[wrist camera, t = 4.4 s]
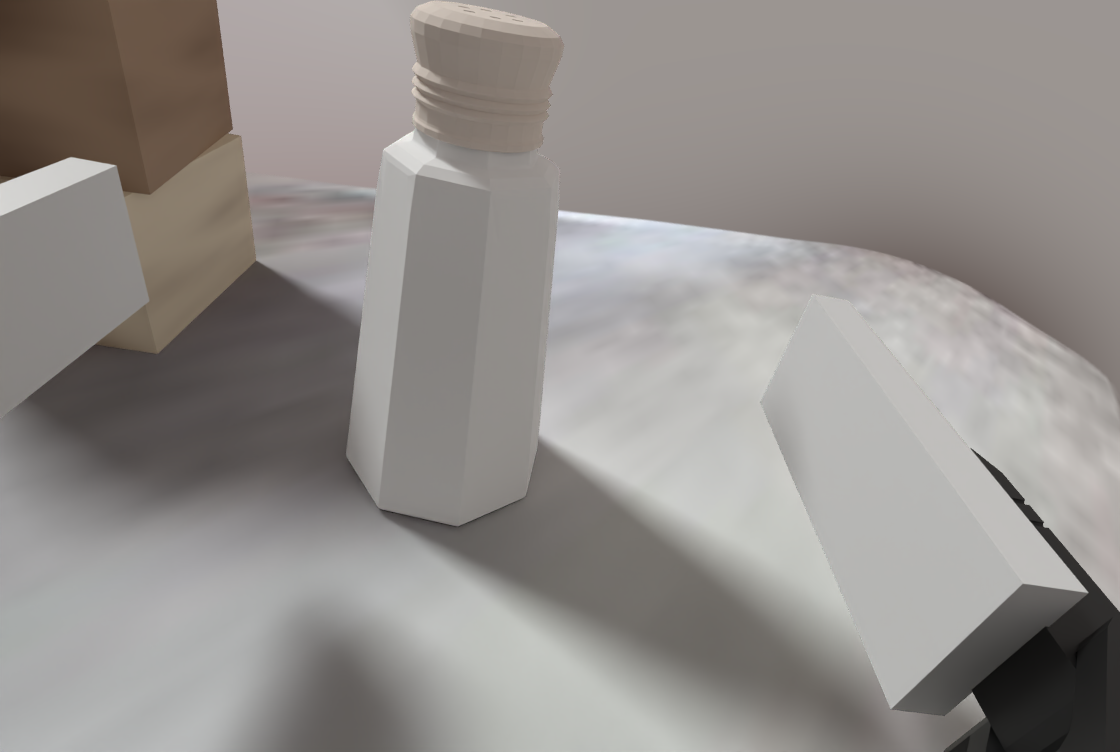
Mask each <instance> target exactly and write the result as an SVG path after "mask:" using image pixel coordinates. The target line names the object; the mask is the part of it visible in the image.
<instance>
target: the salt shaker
mask: <svg viewBox="0 0 1120 752" xmlns="http://www.w3.org/2000/svg"><path fill="white" fill-rule="evenodd" d="M410 29H411V34H412V38H413V44H414V48H415V53H416V58H417V62H416V63H415V65H414V66H413V68H412V70H413V72H414V73H415V74H416V75H415V77H413V79H412V82H413V84H414V85H415V87H414V88H413V89H412V92H411V93H412V94H413V95H414V96H415V98H416V110H415V112H414V113H413V117H412V123H413V125H414V126H415V128H414V131H412V132H410V133H409V134H407V135H405V136H404V137H402V138H401V139H399V140H398V141H396V142H394V143H393V144H391V145H390V146H388V147H386V148H385V149H383V154H382V160H381V165H380V171H379V177H378V183H377V190H376V198H375V207H374V216H373V224H372V233H371V242H370V250H369V259H368V268H367V276H366V285H365V294H364V302H363V311H362V320H361V328H360V337H359V346H358V354H357V363H356V372H355V380H354V389H353V398H352V406H351V415H350V424H349V432H348V441H347V450H346V457H347V458H348V460H349V462H350V463H351V465H352V466H353V468H354V470H355V471H356V473H357V474H358V476H359V478H360V479H361V481H362V482H363V484H364V486H365V487H366V489H367V490H368V492H369V494H370V495H371V497H372V499H373V500H374V502H375V503H376V505H377V507H378V508H380V509H382V510H386V511H391V512H395V513H399V514H404V515H408V516H413V517H417V518H422V519H426V520H430V521H435V522H439V523H444V524H448V525H453V526H457V527H458V526H460V525H463V524H465V523H467V522H469V521H472V520H474V519H476V518H479V517H481V516H483V515H485V514H488V513H490V512H492V511H495V510H497V509H499V508H501V507H504V506H506V505H508V504H510V503H513V502H515V501H517V500H520V499H522V498H524V497H526V494H527V489H528V485H529V481H530V477H531V473H532V468H533V464H534V460H535V456H536V452H537V447H538V437H539V426H540V414H541V403H542V391H543V380H544V368H545V357H546V345H547V334H548V322H549V311H550V299H551V288H552V276H553V265H554V253H555V242H556V230H557V219H558V207H559V184H560V168H559V167H558V166H556V164H555V163H554V162H553V161H551V160H550V159H548V158H546V157H544V156H542V155H541V154H539V153H538V148H540V147H541V145H542V144H543V136H542V128H543V122H544V121H545V120H546V119H547V118H548V116H549V115H548V113H547V111H546V110H547V109H548V108H549V107H550V106H551V105H550V103H549V101H548V99H549V98H550V97H551V96H552V95H553V94H552V92H551V90H550V87H549V85H550V83H551V81H552V78H553V76H554V74H555V72H556V69H557V67H558V65H559V62H560V60H561V57H562V53H563V49H564V44H563V42H562V39H561V37H560V36H559V35H558V34H557V33H556V32H555V31H554V30H552V29H551V28H550V27H549V26H548V25H546V24H544V23H542V22H539V21H536V20H533V19H530V18H526V17H523V16H519V15H515V14H511V13H507V12H503V11H498V10H494V9H489V8H484V7H478V6H473V5H468V4H461V3H455V2H446V1H431V2H428V3H425V4H422V5H419V6H417V7H416V8H415V10H414V11H413V12H412V13H411V15H410Z"/></svg>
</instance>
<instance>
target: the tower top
mask: <svg viewBox="0 0 1120 752" xmlns="http://www.w3.org/2000/svg"><path fill="white" fill-rule="evenodd" d="M232 129H233V127H232V119H231V112H230V105H229V96H228V88H227V80H226V72H225V65H224V57H223V48H222V41H221V33H220V25H219V17H218V9H217V1H216V0H0V176H5V177H13V178H17V177H20V176H23V175H25V174H28V173H30V172H33V171H36V170H38V169H41V168H44V167H46V166H49V165H51V164H54V163H57V162H59V161H62V160H65V159H67V158H70V157H73V158H79V159H84V160H89V161H95V162H100V163H106V164H111V165H116V166H117V170H118V174H119V178H120V182H121V186H122V190H123V191H125V192H133V193H139V194H147V195H151V194H152V193H153V192H154V191H156V190H157V189H158V188H159V187H161V186H162V185H163V184H164V183H166V182H167V181H168V180H170V179H171V178H172V177H173V176H175V175H176V174H177V173H178V172H180V171H181V170H182V169H183V168H185V167H186V166H187V165H188V164H190V163H191V162H192V161H193V160H194V159H196V158H197V157H198V156H199V155H201V154H202V153H203V152H204V151H206V150H207V149H208V148H209V147H211V146H212V145H213V144H214V143H216V142H217V141H218V140H219V139H221V138H222V137H223V136H224V135H226V134H227V133H228V132H230V131H231V130H232Z"/></svg>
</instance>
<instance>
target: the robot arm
mask: <svg viewBox="0 0 1120 752" xmlns="http://www.w3.org/2000/svg"><path fill="white" fill-rule="evenodd" d="M148 302H149V297H148V293H147V288H146V284H145V280H144V276H143V272H142V268H141V264H140V260H139V256H138V252H137V248H136V243H135V239H134V235H133V231H132V227H131V223H130V219H129V215H128V211H127V207H126V203H125V198H124V194H123V190H122V186H121V182H120V178H119V174H118V170H117V166H116V165H111V164H106V163H100V162H95V161H89V160H84V159H79V158H73V157H70V158H67V159H65V160H62V161H59V162H57V163H54V164H51V165H49V166H46V167H44V168H41V169H38V170H36V171H33V172H30V173H28V174H25V175H23V176H20V177H17V178H15V179H12V180H9V181H7V182H4V183H1V184H0V419H1V418H2V417H3V416H5V415H6V414H7V413H8V412H10V411H11V410H12V409H13V408H15V407H16V406H17V405H18V404H20V403H21V402H22V401H24V400H25V399H26V398H27V397H29V396H30V395H31V394H32V393H34V392H35V391H36V390H37V389H39V388H40V387H41V386H43V385H44V384H45V383H46V382H48V381H49V380H50V379H51V378H53V377H54V376H55V375H57V374H58V373H59V372H60V371H62V370H63V369H64V368H65V367H67V366H68V365H69V364H70V363H72V362H73V361H74V360H76V359H77V358H78V357H79V356H81V355H82V354H83V353H84V352H86V351H87V350H88V349H89V348H91V347H92V346H93V345H95V344H96V343H97V342H98V341H100V340H101V339H102V338H103V337H105V336H106V335H107V334H108V333H110V332H111V331H112V330H114V329H115V328H116V327H117V326H119V325H120V324H121V323H122V322H124V321H125V320H126V319H127V318H129V317H130V316H131V315H133V314H134V313H135V312H136V311H138V310H139V309H140V308H141V307H143V306H144V305H145V304H147V303H148ZM760 403H761V405H762V408H763V410H764V413H765V415H766V417H767V420H768V422H769V424H770V427H771V429H772V431H773V434H774V436H775V438H776V441H777V443H778V445H779V448H780V450H781V452H782V455H783V457H784V460H785V462H786V464H787V467H788V469H789V471H790V474H791V476H792V478H793V481H794V483H795V485H796V488H797V490H798V492H799V495H800V497H801V499H802V502H803V504H804V507H805V509H806V511H807V514H808V516H809V518H810V521H811V523H812V525H813V528H814V530H815V532H816V535H817V537H818V539H819V542H820V544H821V547H822V549H823V551H824V554H825V556H826V558H827V561H828V563H829V565H830V568H831V570H832V572H833V575H834V577H835V579H836V582H837V584H838V586H839V589H840V591H841V594H842V596H843V598H844V601H845V603H846V605H847V608H848V610H849V612H850V615H851V617H852V619H853V622H854V624H855V626H856V629H857V631H858V633H859V636H860V638H861V641H862V643H863V645H864V648H865V650H866V652H867V655H868V657H869V659H870V662H871V664H872V666H873V669H874V671H875V673H876V676H877V678H878V681H879V683H880V685H881V688H882V690H883V692H884V695H885V697H886V699H887V702H888V704H889V706H890V709H892V710H900V711H908V712H917V713H925V714H934V715H942V716H945V715H946V714H947V713H948V712H950V711H951V710H952V709H953V708H954V707H955V706H957V705H958V704H959V703H960V702H961V701H962V700H964V699H965V698H966V697H967V696H968V695H969V694H971V693H972V692H973V694H974V695H975V697H976V699H977V701H978V703H979V705H980V706H981V708H982V710H983V712H984V714H985V716H986V718H985V719H983V720H982V721H981V722H979V723H978V724H977V725H976V726H974V727H973V728H972V729H971V730H969V731H968V732H967V733H966V734H964V735H963V736H962V737H961V738H959V739H958V740H957V741H955V742H954V743H953V744H952V745H950V746H949V747H948V748H947V749H945V750H944V752H1120V612H1119V611H1118V610H1117V608H1116V607H1115V606H1114V605H1113V604H1112V603H1111V601H1110V600H1109V599H1108V598H1107V597H1106V595H1105V594H1104V593H1103V592H1102V591H1101V589H1100V588H1099V587H1098V586H1097V585H1096V584H1095V582H1094V581H1093V580H1092V579H1091V578H1090V576H1089V575H1088V574H1087V573H1086V572H1085V571H1084V569H1083V568H1082V567H1081V566H1080V565H1079V563H1078V562H1077V561H1076V560H1075V559H1074V557H1073V556H1072V555H1071V554H1070V553H1069V552H1068V550H1067V549H1066V548H1065V547H1064V546H1063V544H1062V543H1061V542H1060V541H1059V540H1058V538H1057V537H1056V536H1055V535H1054V534H1053V533H1052V531H1051V530H1050V529H1049V528H1045V527H1043V523H1044V522H1043V521H1042V520H1041V518H1040V517H1039V516H1038V515H1037V514H1036V512H1035V511H1034V510H1033V509H1032V508H1031V506H1030V505H1025V504H1024V501H1025V499H1024V498H1023V497H1022V496H1021V495H1020V493H1019V492H1018V491H1017V490H1016V489H1015V488H1014V486H1013V485H1012V484H1011V483H1010V482H1009V480H1008V479H1007V478H1006V477H1005V476H1004V474H1003V473H1002V472H1000V471H999V470H998V469H997V468H995V467H994V466H993V465H992V464H990V463H989V462H988V461H986V460H985V459H984V458H983V457H981V456H980V455H979V454H978V453H976V452H975V451H974V450H973V449H971V448H969V446H968V445H967V444H966V443H965V442H964V440H963V439H962V438H961V437H960V435H959V434H958V433H957V432H956V431H955V429H954V428H953V427H952V426H951V424H950V423H949V422H948V421H947V420H946V418H945V417H944V416H943V415H942V413H941V412H940V411H939V410H938V409H937V407H936V406H935V405H934V404H933V402H932V401H931V400H930V399H929V398H928V396H927V395H926V394H925V393H924V392H923V390H922V389H921V388H920V387H919V385H918V384H917V383H916V382H915V381H914V379H913V378H912V377H911V376H910V374H909V373H908V372H907V371H906V370H905V368H904V367H903V366H902V365H901V363H900V362H899V361H898V360H897V359H896V357H895V356H894V355H893V354H892V352H891V351H890V350H889V349H888V348H887V346H886V345H885V344H884V343H883V341H882V340H881V339H880V338H879V337H878V335H877V334H876V333H875V332H874V331H873V329H872V328H871V327H870V326H869V324H868V323H867V322H866V321H865V320H864V318H863V317H862V316H861V315H860V313H859V312H858V311H857V310H856V309H855V307H854V306H853V305H852V304H851V302H850V301H848V300H843V299H838V298H832V297H827V296H821V295H816V294H812V296H811V298H810V300H809V302H808V305H807V307H806V309H805V311H804V313H803V315H802V317H801V319H800V321H799V323H798V325H797V327H796V329H795V331H794V333H793V335H792V337H791V340H790V342H789V344H788V346H787V348H786V350H785V352H784V354H783V356H782V358H781V360H780V362H779V364H778V366H777V368H776V370H775V373H774V375H773V377H772V379H771V381H770V383H769V385H768V387H767V389H766V391H765V393H764V395H763V397H762V399H761V401H760Z"/></svg>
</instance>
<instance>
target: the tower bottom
mask: <svg viewBox="0 0 1120 752" xmlns="http://www.w3.org/2000/svg"><path fill="white" fill-rule="evenodd" d="M12 179H15V178H13V177H5V176H0V184H1V183H4V182H7V181H9V180H12ZM123 194H124V198H125V203H126V207H127V211H128V215H129V219H130V223H131V227H132V231H133V235H134V239H135V243H136V248H137V252H138V256H139V260H140V264H141V268H142V272H143V276H144V280H145V284H146V288H147V293H148V297H149V302H148V303H147V304H145V305H144V306H143V307H141V308H140V309H139V310H138V311H136V312H135V313H134V314H133V315H131V316H130V317H129V318H127V319H126V320H125V321H124V322H122V323H121V324H120V325H119V326H117V327H116V328H115V329H114V330H112V331H111V332H110V333H108V334H107V335H106V336H105V337H103V338H102V339H101V340H100V341H98V342H97V343H96V344H95V345H102V346H108V347H115V348H121V349H128V350H135V351H141V352H148V353H154V354H158V353H159V352H160V351H161V350H162V349H163V348H165V347H166V346H167V345H168V344H169V343H170V342H171V341H172V340H173V339H174V338H175V337H176V336H177V335H178V334H179V333H180V332H181V331H182V330H184V329H185V328H186V327H187V326H188V325H189V324H190V323H191V322H192V321H193V320H194V319H195V318H196V317H197V316H198V315H199V314H200V313H201V312H203V311H204V310H205V309H206V308H207V307H208V306H209V305H210V304H211V303H212V302H213V301H214V300H215V299H216V298H217V297H218V296H219V295H220V294H222V293H223V292H224V291H225V290H226V289H227V288H228V287H229V286H230V285H231V284H232V283H233V282H234V281H235V280H236V279H237V278H238V277H239V276H241V275H242V274H243V273H244V272H245V271H246V270H247V269H248V268H249V267H250V266H251V265H252V264H253V263H254V262H255V261H256V254H255V246H254V238H253V230H252V221H251V213H250V205H249V197H248V189H247V180H246V172H245V165H244V156H243V148H242V140H241V136H239V135H233V134H228V133H227V134H226V135H224V136H223V137H222V138H221V139H219V140H218V141H217V142H216V143H214V144H213V145H212V146H211V147H209V148H208V149H207V150H206V151H204V152H203V153H202V154H201V155H199V156H198V157H197V158H196V159H194V160H193V161H192V162H191V163H190V164H188V165H187V166H186V167H185V168H183V169H182V170H181V171H180V172H178V173H177V174H176V175H175V176H173V177H172V178H171V179H170V180H168V181H167V182H166V183H164V184H163V185H162V186H161V187H159V188H158V189H157V190H156V191H154V192H153V193H152V194H151V195H147V194H139V193H133V192H125V191H123Z"/></svg>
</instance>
